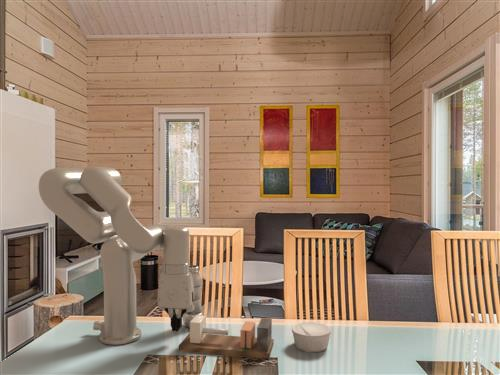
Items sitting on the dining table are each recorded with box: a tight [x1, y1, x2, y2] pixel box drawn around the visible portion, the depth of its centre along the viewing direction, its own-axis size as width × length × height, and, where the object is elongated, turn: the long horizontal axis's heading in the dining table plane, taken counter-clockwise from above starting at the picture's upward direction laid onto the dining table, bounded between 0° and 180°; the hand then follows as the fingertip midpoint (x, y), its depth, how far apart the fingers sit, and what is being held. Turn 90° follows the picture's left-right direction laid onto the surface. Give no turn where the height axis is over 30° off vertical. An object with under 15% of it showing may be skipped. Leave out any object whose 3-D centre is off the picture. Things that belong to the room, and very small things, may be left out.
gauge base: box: [178, 317, 275, 360], centre depth 121 cm, size 26×10×8 cm, turn 80°
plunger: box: [189, 315, 230, 343], centre depth 122 cm, size 10×6×6 cm, turn 80°
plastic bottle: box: [182, 264, 204, 328], centre depth 137 cm, size 6×7×20 cm
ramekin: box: [291, 321, 332, 353], centre depth 122 cm, size 11×11×5 cm
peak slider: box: [239, 320, 256, 350], centre depth 119 cm, size 3×8×5 cm, turn 170°
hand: (176, 329), depth 124 cm, fingers closed
